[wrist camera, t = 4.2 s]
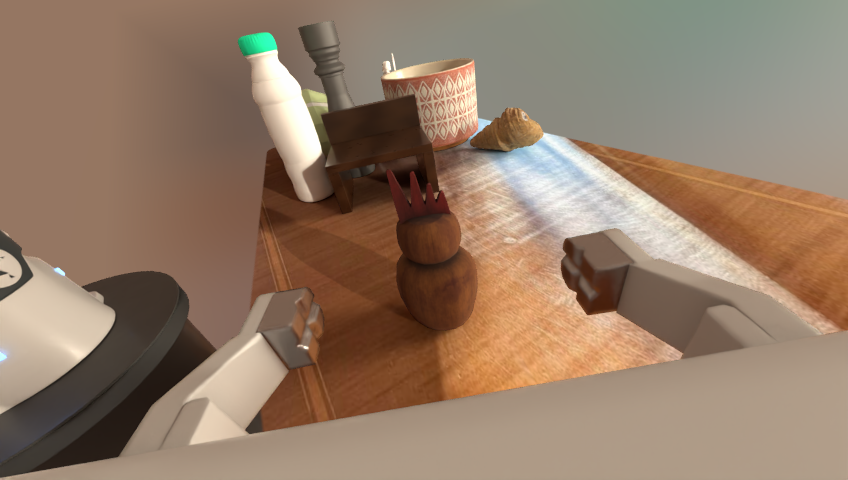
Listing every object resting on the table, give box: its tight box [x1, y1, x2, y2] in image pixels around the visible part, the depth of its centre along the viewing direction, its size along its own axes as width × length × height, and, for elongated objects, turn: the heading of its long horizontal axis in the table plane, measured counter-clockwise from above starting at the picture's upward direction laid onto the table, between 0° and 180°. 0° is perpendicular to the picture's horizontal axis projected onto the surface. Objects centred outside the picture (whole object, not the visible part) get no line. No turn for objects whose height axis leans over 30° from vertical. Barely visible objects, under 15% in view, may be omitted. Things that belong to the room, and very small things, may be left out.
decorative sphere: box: [301, 89, 331, 160], centre depth 69 cm, size 15×15×15 cm
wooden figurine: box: [386, 169, 477, 330], centre depth 25 cm, size 7×6×15 cm
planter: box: [381, 58, 478, 151], centre depth 67 cm, size 19×19×15 cm
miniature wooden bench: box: [321, 94, 439, 214], centre depth 50 cm, size 16×12×13 cm
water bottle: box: [238, 33, 334, 202], centre depth 50 cm, size 7×7×25 cm
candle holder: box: [298, 21, 375, 178], centre depth 56 cm, size 6×6×25 cm
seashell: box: [470, 108, 544, 151], centre depth 58 cm, size 14×8×8 cm
